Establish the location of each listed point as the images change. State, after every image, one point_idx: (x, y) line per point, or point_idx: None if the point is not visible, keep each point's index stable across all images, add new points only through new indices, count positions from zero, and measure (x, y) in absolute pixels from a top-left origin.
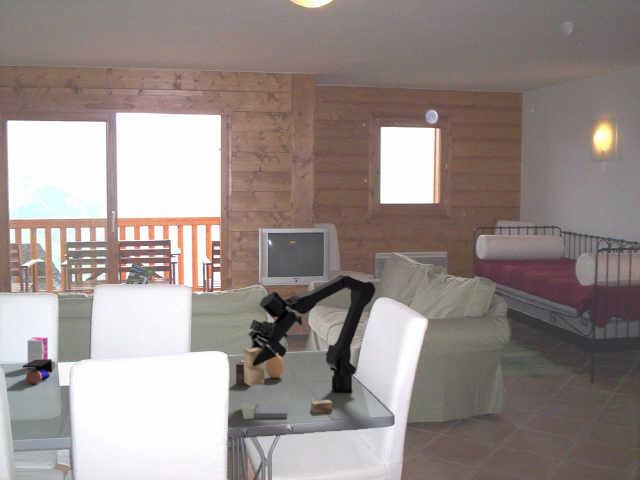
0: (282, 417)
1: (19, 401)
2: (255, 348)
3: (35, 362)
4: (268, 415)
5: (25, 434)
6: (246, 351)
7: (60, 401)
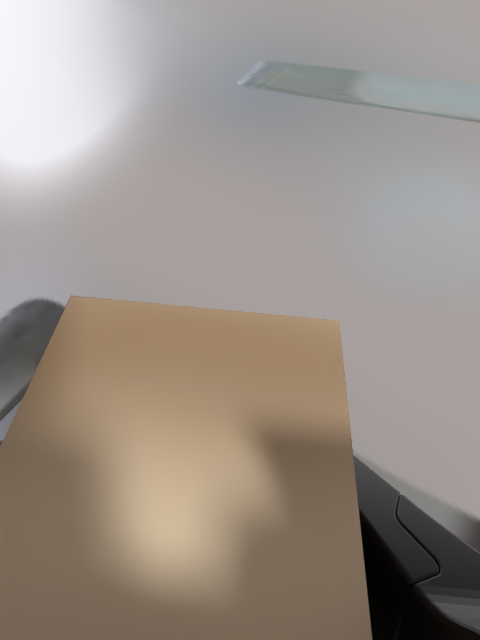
0: None
1: (469, 86)
2: (250, 545)
3: None
4: None
5: (284, 66)
6: (220, 321)
7: (454, 115)
